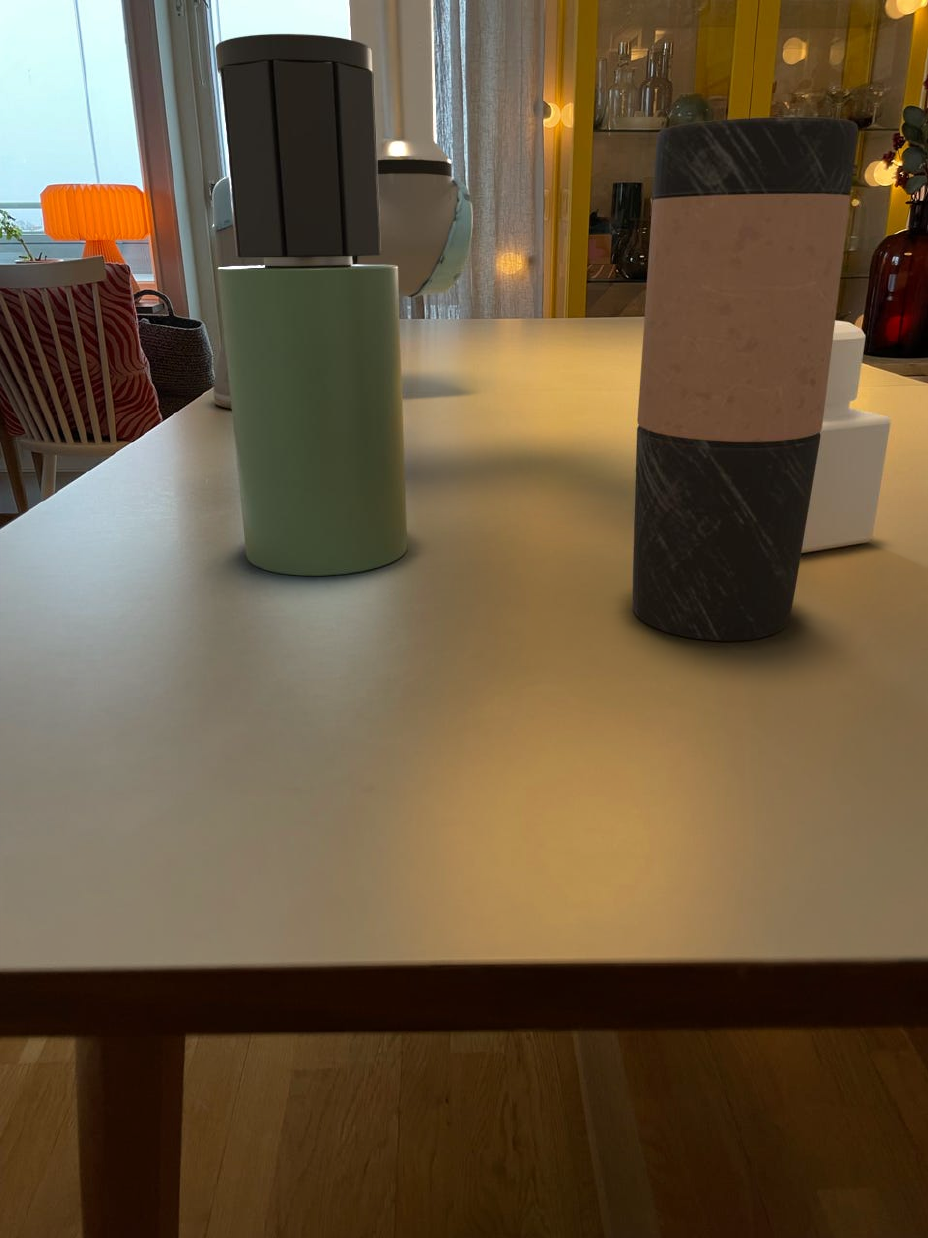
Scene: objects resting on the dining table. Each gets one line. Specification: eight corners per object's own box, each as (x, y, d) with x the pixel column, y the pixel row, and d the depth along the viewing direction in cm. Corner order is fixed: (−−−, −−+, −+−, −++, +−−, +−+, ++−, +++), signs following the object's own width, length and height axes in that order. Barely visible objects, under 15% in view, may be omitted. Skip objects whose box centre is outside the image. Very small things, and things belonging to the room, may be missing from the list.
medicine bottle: (694, 526, 56) (711, 318, 52) (787, 512, 59) (812, 313, 55) (774, 560, 50) (801, 327, 46) (874, 543, 53) (910, 321, 48)
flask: (243, 534, 56) (197, 85, 47) (391, 522, 58) (374, 90, 49) (250, 583, 48) (196, 52, 39) (422, 567, 50) (408, 60, 41)
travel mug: (806, 650, 39) (881, 112, 32) (622, 637, 41) (652, 120, 33) (786, 589, 46) (843, 135, 39) (629, 579, 48) (655, 141, 40)
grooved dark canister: (232, 256, 49) (214, 60, 46) (367, 254, 51) (359, 65, 48) (237, 257, 43) (216, 30, 40) (391, 255, 45) (383, 36, 41)
